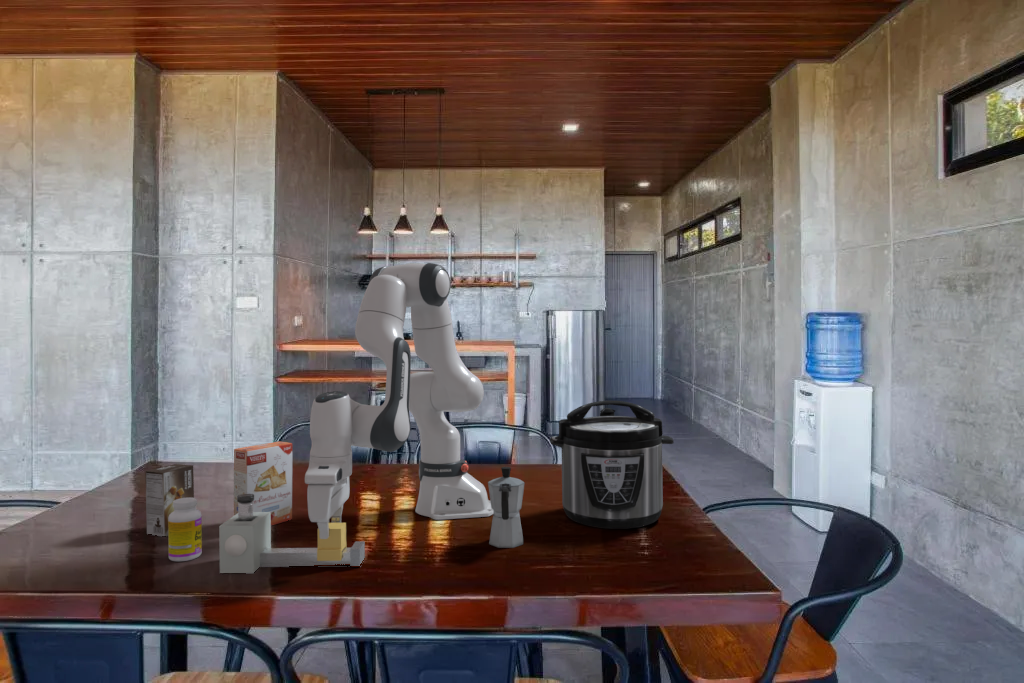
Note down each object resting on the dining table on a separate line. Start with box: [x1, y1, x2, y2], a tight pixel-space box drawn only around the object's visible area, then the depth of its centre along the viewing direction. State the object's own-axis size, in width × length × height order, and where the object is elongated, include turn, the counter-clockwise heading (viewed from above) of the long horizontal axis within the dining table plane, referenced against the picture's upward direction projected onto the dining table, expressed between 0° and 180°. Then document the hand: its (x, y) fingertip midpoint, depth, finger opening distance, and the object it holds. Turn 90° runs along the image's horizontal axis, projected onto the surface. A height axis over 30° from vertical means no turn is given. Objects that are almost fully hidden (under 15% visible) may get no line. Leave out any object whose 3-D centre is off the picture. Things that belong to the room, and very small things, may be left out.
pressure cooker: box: [549, 400, 674, 530], centre depth 169 cm, size 30×28×32 cm
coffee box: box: [145, 463, 195, 537], centre depth 158 cm, size 9×6×16 cm
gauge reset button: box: [237, 494, 254, 521], centre depth 135 cm, size 3×3×7 cm
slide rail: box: [260, 540, 366, 568], centre depth 136 cm, size 22×5×4 cm, turn 91°
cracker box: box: [233, 441, 293, 527], centre depth 163 cm, size 14×6×21 cm, turn 148°
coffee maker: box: [487, 466, 525, 549], centre depth 148 cm, size 15×9×18 cm, turn 178°
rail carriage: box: [317, 522, 348, 561], centre depth 136 cm, size 5×5×7 cm
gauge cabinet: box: [218, 512, 272, 574], centre depth 135 cm, size 7×11×10 cm, turn 1°
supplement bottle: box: [167, 497, 203, 562], centre depth 140 cm, size 7×7×13 cm
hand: (330, 531), depth 135 cm, fingers open, 8 cm apart
